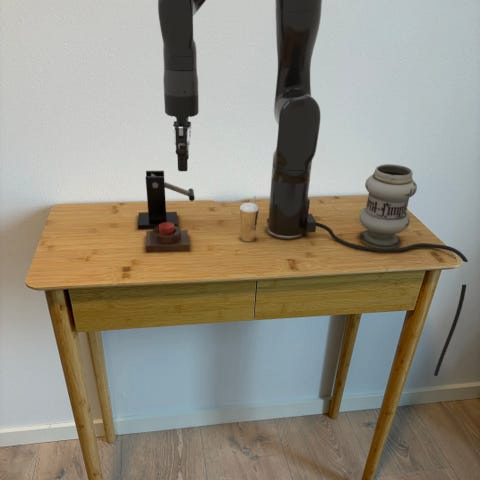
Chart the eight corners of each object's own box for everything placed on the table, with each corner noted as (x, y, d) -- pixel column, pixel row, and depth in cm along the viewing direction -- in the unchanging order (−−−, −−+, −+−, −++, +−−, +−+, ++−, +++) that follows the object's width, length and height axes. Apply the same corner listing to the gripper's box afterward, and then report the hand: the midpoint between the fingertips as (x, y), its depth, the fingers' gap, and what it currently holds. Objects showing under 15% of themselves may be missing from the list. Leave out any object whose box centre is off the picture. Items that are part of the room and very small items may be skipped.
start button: (174, 228, 118) (174, 221, 117) (174, 235, 115) (174, 228, 114) (159, 229, 118) (158, 222, 117) (159, 235, 115) (158, 228, 114)
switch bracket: (176, 215, 132) (175, 168, 125) (177, 228, 126) (175, 179, 118) (139, 216, 131) (134, 168, 123) (137, 229, 124) (133, 179, 117)
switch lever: (191, 196, 128) (195, 187, 127) (192, 203, 124) (196, 195, 123) (148, 180, 124) (151, 171, 123) (148, 187, 120) (151, 178, 119)
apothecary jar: (348, 230, 128) (360, 161, 118) (392, 228, 130) (407, 160, 120) (365, 252, 119) (380, 178, 108) (412, 249, 120) (431, 177, 110)
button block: (187, 236, 122) (187, 223, 120) (189, 251, 116) (188, 237, 114) (146, 237, 121) (145, 223, 119) (146, 252, 115) (144, 238, 113)
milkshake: (261, 235, 124) (263, 197, 118) (252, 244, 120) (254, 205, 114) (244, 232, 125) (246, 194, 119) (235, 240, 121) (237, 201, 115)
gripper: (197, 98, 103) (198, 175, 112) (198, 85, 114) (199, 156, 123) (161, 97, 102) (165, 174, 111) (166, 84, 114) (169, 155, 123)
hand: (183, 164), depth 117 cm, fingers open, 8 cm apart
